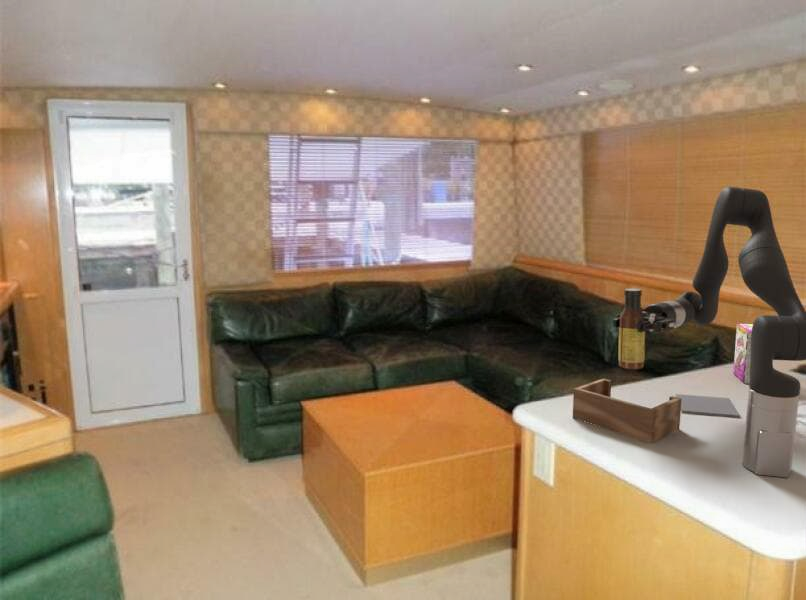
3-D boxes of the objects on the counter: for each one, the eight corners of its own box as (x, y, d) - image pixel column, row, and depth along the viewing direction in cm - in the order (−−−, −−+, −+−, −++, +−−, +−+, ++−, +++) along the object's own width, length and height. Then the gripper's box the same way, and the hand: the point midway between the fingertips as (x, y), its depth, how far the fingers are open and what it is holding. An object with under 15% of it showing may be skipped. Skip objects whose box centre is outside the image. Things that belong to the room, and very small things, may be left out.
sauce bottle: (649, 369, 160) (654, 290, 156) (628, 371, 158) (633, 292, 154) (631, 362, 166) (636, 286, 162) (611, 364, 164) (615, 288, 160)
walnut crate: (601, 406, 176) (603, 378, 175) (679, 429, 160) (681, 398, 158) (572, 417, 168) (573, 388, 166) (651, 443, 151) (653, 411, 150)
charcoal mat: (739, 417, 167) (740, 415, 167) (681, 412, 171) (681, 410, 171) (728, 400, 180) (729, 398, 180) (675, 396, 184) (675, 394, 184)
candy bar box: (731, 373, 205) (736, 323, 202) (748, 374, 204) (753, 323, 201) (742, 383, 195) (747, 331, 192) (760, 384, 194) (765, 331, 191)
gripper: (640, 298, 174) (602, 306, 164) (691, 306, 162) (654, 315, 152) (638, 325, 175) (601, 335, 165) (689, 335, 164) (652, 346, 154)
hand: (626, 325), depth 159 cm, fingers closed on sauce bottle, 6 cm apart
